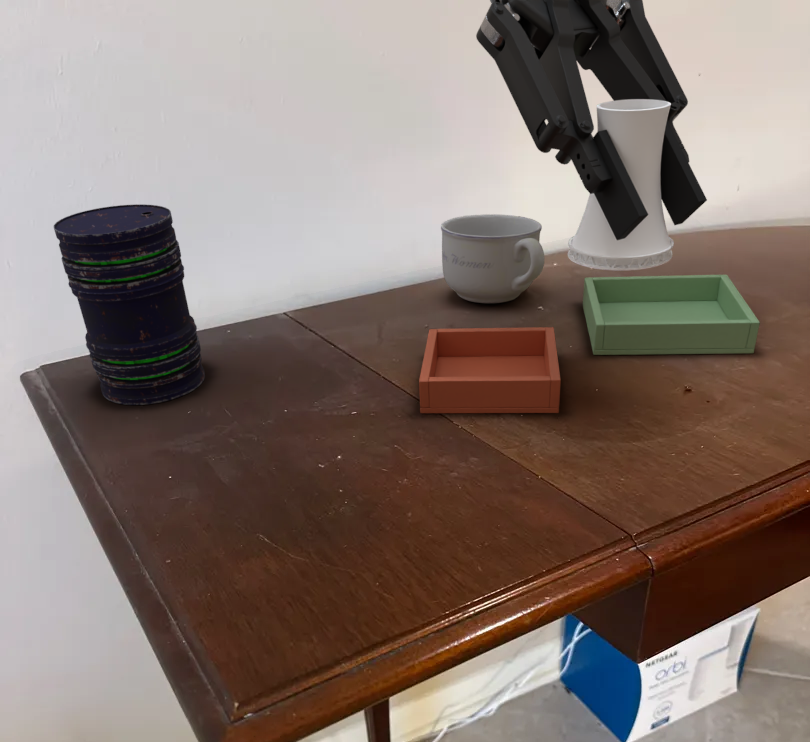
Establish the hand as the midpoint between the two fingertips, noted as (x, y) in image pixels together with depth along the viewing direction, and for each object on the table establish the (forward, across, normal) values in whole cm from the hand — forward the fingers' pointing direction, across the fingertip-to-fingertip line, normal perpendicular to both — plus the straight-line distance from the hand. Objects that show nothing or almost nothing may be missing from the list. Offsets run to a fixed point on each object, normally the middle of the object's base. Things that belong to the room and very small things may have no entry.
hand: (661, 219), depth 56 cm
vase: (0, 0, -5) cm, 5 cm away
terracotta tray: (+2, +4, -21) cm, 22 cm away
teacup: (-11, -9, -34) cm, 36 cm away
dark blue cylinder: (-12, +30, -35) cm, 47 cm away
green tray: (+1, -17, -21) cm, 27 cm away
